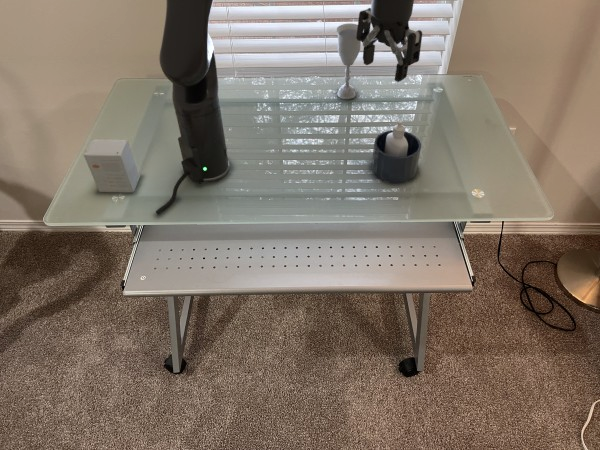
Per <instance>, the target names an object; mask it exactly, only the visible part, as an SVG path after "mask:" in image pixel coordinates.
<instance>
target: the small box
mask: <svg viewBox="0 0 600 450" xmlns="http://www.w3.org/2000/svg"><path fill="white" fill-rule="evenodd" d="M129 142H130V141H129V139H92V140H91V141H90V143H89V145H88V147H87V149H86V150H85V151H84V152H85V153H83V157H84V159H85V161H86V164H87V166H88V169H89V171H90V174H91V176H92V178H93V181H94V183H95V185H96V188H97V190H98V192H99V193H135V191H136V187H137V186H138V183H139V180H140V178H141V175H140V172H139V171H140V170H139V168H138V165H137V162H136V160H135V157H134V154H133V151H132V148H131V146H130V143H129Z"/></svg>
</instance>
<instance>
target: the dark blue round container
mask: <svg viewBox="0 0 600 450" xmlns="http://www.w3.org/2000/svg"><path fill="white" fill-rule="evenodd" d="M391 132H393V129H392V130H391V129H390V130H386V131H383V132H381V133H379V134H378V135H377V136H376V137H375V138H374V141H373V150H372V160H371V170H372V173H373V174H374V175H375V176H376V177H377V179H380V180H382V181H383V182H388V183H392V184H401V183H405V182H408V181H410V180H412V179H413V178H414V177H415V175H416V174H417V169H418V165H419V159H420V154H421V149H422V143H421V141H420V139H419V138H418V137H417V136H416V135H414V134H412V133H411V132H408V131H406V130H405V131H404V137H405V138H406V140H407V143H408V150H407V156H406V157H394V156H390V155H387V154H385V153H384V151H385V143H386V137H387V135H388V134H389V133H391Z"/></svg>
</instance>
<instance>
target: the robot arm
mask: <svg viewBox="0 0 600 450" xmlns="http://www.w3.org/2000/svg"><path fill="white" fill-rule="evenodd" d="M414 3H415V0H371V3H370V7H368V8H366V9H363V10H361V11H359V14H358V20H357V21H358V22H357V25H358V28H357V36H356V38H357V40H358V41H361V45H362V46H363V52H362V61H363V64H364V65H365V66H369V65H371V64H373V63H374V60H375V59H374V58H375V50H376V45H375V43H376V42H378V43H380V44H384V45H385V46H386V47H388V48H390V50H391V53H392V54H393V55H394V56H395V59H396V60H397V63H396V67H395V75H394V81H395V82H397V83H400V82H402V81H403V80H404V79H406V78H407V76H408V70H409V67H410V66H412V65H413V64H415V63H418V62H419V61H420V57H421V56H420V55H421V47H422V38H423V31H422V30H421V29H418V30H412V29H410V26H409V22H410V19H411V17H412V15H413V9H414ZM213 5H214V0H166V8H165V9H166V11H165V20H164V26H163V27H164V28H163V34H162V39H161V45H160V49H159V55H158V57H159V59H158V61H159V65H160V68H161V70H162V72H163V74H164V76H165V77H166V78H167V79H168V81H169V82H171V83H172V94H171V95H172V104H173V107H174V111H175V117H176V120H177V124H178V129H179V134H180V136H178V138H177V141H178V145H179V149H180V154H181V157H182V160H181V166H182V171H183V173H182V174H181V175H180V177H179V179H178V180H177V181H176V183H175V185H174V187H173V190H172V194H171V197H170V198H169V200H168V201H167V202H166V203H165V204H163V205H162V206H161V207H159V208H158V209H156V210H155V213H156V214H157V215H160V214H161V213H162V212H163V211H165V210H167V209H168V208H169V207H170V206H171V205H172V204H173V203H174V202H175V200H176V197H177V195H178V190H179V188H180V186H181V185H182V183H183V181H184V180H185V179H186V178H187V177H188V178H189V179H190V180H191V181H192V182H196V183H197V184H199V185H201V184H203V183H211V182H216V181H219V180H221V179H223V178H224V177H226V176H227V174H228V173H229V171H230V161H229V157H228V148H227V143H226V137H225V131H224V123H223V118H222V110H221V103H220V97H219V77H218V69H217V61H216V54H215V53H216V52H215V47H214V44H213V40H212V38H211V36H210V34H209V24H210V16H211V11H212V7H213ZM371 27H372V30H371ZM363 30H364V31H363ZM399 44H401V46H400V47H399V46H398V45H399Z"/></svg>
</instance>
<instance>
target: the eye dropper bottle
mask: <svg viewBox="0 0 600 450" xmlns="http://www.w3.org/2000/svg"><path fill="white" fill-rule="evenodd" d="M392 130H393V132H391V133H389V134H388V135H387V137H386V143H385V151H384V153H385V154H387V155H390V156H394V157H406V156H407V150H408V143H407V140H406V138H405V137H404V131H405V132H406V127H405V125H403V122H402V121H401V120H399V121H398V122H397V124H395V125H394V126H393V128H392Z"/></svg>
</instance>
